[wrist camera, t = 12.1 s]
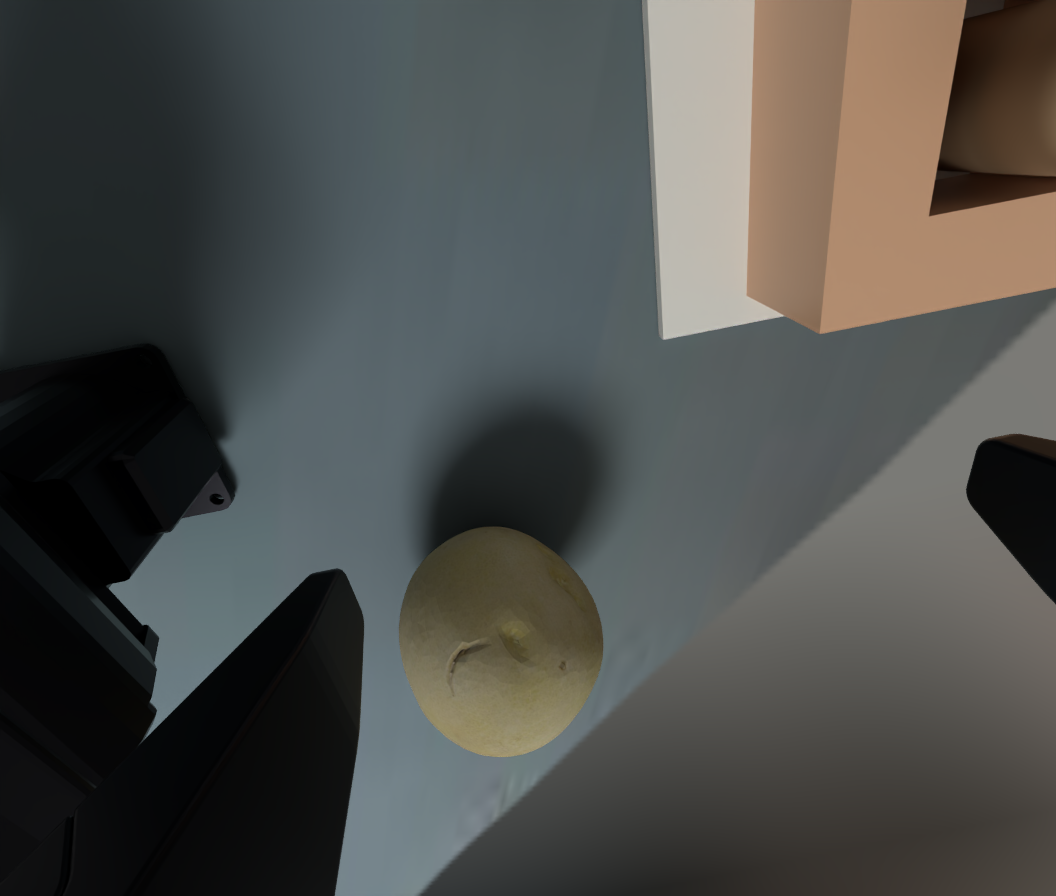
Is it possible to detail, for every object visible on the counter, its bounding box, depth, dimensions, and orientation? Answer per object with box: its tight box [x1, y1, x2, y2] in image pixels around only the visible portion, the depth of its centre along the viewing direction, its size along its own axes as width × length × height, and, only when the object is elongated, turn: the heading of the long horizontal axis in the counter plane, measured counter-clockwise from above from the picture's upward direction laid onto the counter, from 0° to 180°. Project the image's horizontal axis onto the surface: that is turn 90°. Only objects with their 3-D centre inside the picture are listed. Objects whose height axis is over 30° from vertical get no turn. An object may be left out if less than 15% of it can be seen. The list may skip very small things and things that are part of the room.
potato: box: [399, 527, 603, 757], centre depth 21 cm, size 8×8×8 cm
